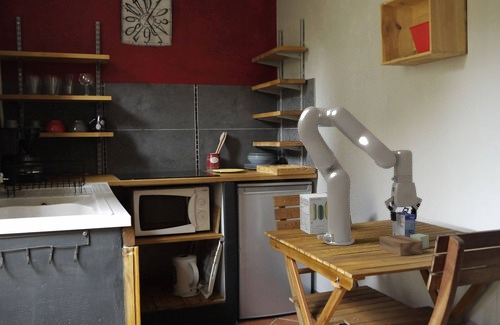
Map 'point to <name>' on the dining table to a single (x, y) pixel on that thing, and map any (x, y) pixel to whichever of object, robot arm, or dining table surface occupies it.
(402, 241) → the walnut block
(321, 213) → the supplement box
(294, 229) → the dining table surface
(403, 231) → the ink cartridge box
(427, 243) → the sage cube
